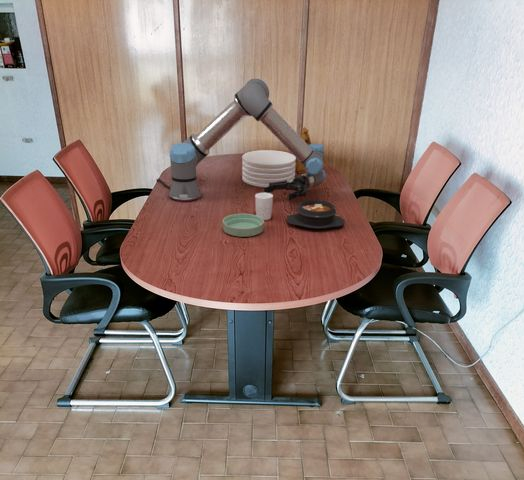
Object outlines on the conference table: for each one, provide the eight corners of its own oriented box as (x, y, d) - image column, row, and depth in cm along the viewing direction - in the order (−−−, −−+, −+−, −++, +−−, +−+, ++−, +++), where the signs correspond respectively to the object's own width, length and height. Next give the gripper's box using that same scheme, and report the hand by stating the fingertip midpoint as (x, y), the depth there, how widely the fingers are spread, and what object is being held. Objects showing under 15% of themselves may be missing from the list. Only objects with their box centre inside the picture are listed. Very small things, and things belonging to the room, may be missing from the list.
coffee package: (295, 174, 286) (297, 131, 274) (294, 167, 296) (296, 126, 284) (313, 174, 286) (316, 132, 274) (311, 168, 296) (314, 127, 284)
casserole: (286, 231, 218) (287, 212, 214) (286, 215, 234) (287, 197, 229) (345, 233, 218) (348, 214, 213) (342, 217, 233) (344, 199, 228)
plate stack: (304, 177, 281) (305, 155, 275) (277, 190, 262) (278, 167, 255) (260, 168, 293) (260, 147, 287) (231, 180, 274) (231, 158, 267)
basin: (214, 231, 217) (214, 221, 215) (240, 219, 229) (240, 210, 226) (246, 241, 209) (246, 232, 207) (271, 229, 220) (272, 219, 218)
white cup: (270, 221, 227) (271, 199, 222) (253, 220, 229) (253, 197, 223) (273, 215, 234) (274, 193, 228) (256, 213, 235) (257, 191, 229)
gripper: (324, 196, 243) (299, 208, 229) (281, 185, 255) (255, 196, 241) (326, 180, 239) (300, 191, 225) (281, 170, 251) (255, 180, 237)
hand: (277, 194), depth 233 cm, fingers open, 13 cm apart
